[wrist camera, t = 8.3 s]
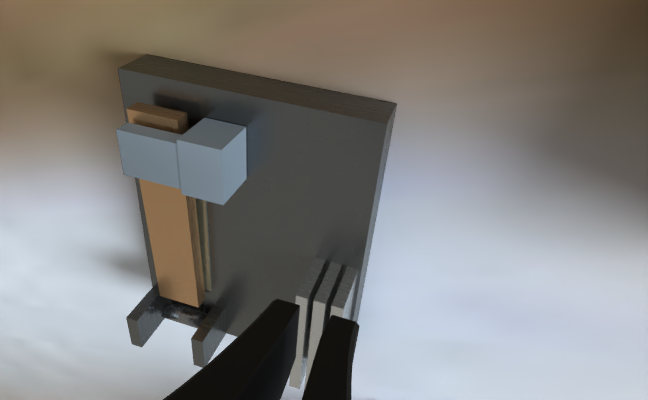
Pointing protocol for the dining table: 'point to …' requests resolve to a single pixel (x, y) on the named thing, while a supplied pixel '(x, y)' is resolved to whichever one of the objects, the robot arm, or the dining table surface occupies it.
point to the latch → (187, 158)
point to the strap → (172, 227)
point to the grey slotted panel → (273, 201)
